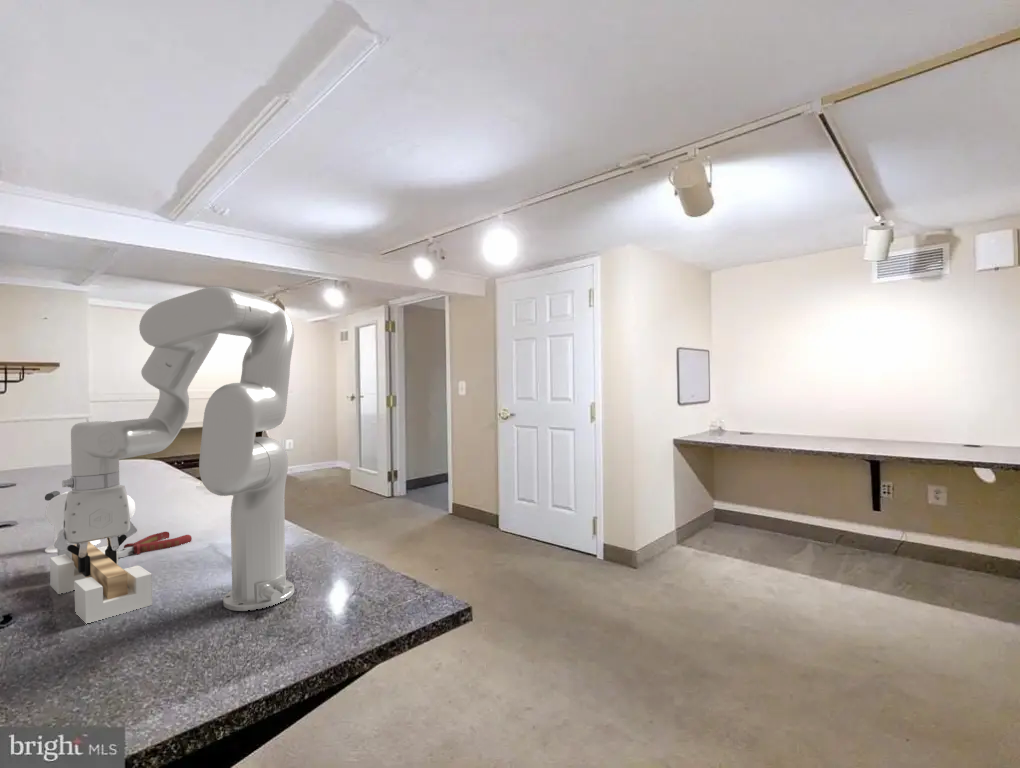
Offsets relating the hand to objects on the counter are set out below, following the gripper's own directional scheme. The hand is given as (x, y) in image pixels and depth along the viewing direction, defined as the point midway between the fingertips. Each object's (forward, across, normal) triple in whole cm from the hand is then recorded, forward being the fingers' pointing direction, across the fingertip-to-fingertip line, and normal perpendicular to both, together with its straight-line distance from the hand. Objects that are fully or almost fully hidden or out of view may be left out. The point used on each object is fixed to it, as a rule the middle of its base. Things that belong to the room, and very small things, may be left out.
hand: (97, 571), depth 103 cm
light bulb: (+5, +17, +54) cm, 57 cm away
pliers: (+6, +15, +29) cm, 33 cm away
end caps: (+5, 0, 0) cm, 5 cm away
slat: (+1, 0, 0) cm, 1 cm away
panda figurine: (+5, +5, +47) cm, 47 cm away
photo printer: (+5, 0, +21) cm, 21 cm away
